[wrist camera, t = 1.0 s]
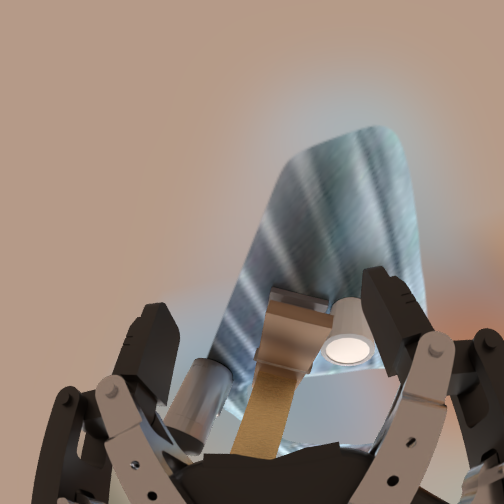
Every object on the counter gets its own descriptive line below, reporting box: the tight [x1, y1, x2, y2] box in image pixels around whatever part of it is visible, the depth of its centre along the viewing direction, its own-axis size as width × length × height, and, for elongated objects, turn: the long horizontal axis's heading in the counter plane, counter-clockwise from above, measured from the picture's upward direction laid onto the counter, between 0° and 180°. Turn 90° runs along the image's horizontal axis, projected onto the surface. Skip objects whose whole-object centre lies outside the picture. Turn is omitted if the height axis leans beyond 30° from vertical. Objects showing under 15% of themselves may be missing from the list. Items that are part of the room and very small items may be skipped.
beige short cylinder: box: [321, 297, 375, 366], centre depth 33 cm, size 7×7×7 cm
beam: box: [252, 300, 334, 389], centre depth 30 cm, size 20×7×2 cm, turn 174°
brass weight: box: [230, 371, 297, 460], centre depth 29 cm, size 5×5×12 cm
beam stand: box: [267, 287, 329, 313], centre depth 34 cm, size 5×8×8 cm, turn 84°
